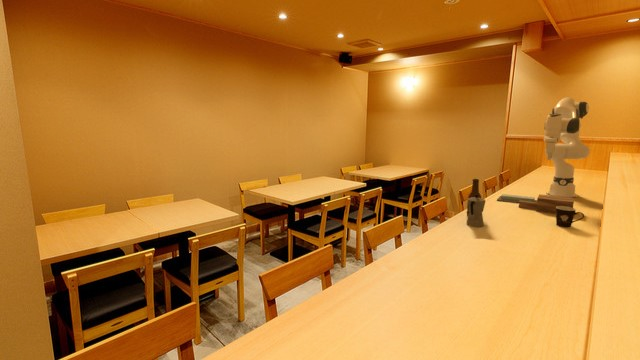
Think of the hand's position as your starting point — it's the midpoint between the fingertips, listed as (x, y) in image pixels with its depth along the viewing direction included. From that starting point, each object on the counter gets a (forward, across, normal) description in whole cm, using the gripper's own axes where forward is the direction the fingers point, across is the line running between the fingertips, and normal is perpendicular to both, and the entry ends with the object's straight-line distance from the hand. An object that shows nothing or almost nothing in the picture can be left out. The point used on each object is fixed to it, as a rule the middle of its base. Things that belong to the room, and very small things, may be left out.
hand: (549, 159), depth 208 cm
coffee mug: (+31, +48, +13) cm, 59 cm away
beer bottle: (+31, +58, -32) cm, 73 cm away
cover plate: (+30, +3, -16) cm, 34 cm away
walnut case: (+31, +18, +1) cm, 36 cm away
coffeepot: (+31, +73, -28) cm, 84 cm away
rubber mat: (+31, +3, -15) cm, 35 cm away
